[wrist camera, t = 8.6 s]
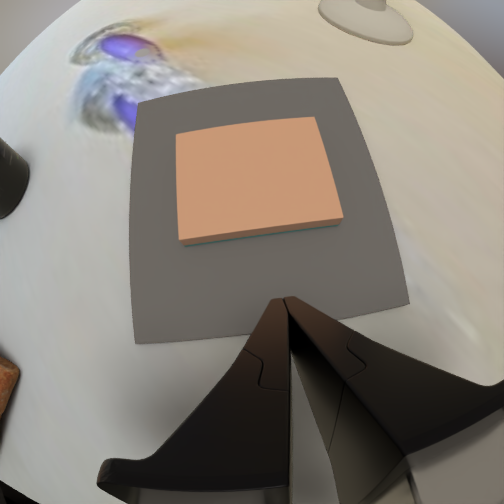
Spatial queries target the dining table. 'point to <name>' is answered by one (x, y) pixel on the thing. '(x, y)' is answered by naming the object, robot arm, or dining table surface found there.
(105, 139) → the dining table surface
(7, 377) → the ceramic shard
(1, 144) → the supplement bottle
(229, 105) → the mat
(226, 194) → the tile
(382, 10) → the candlestick
